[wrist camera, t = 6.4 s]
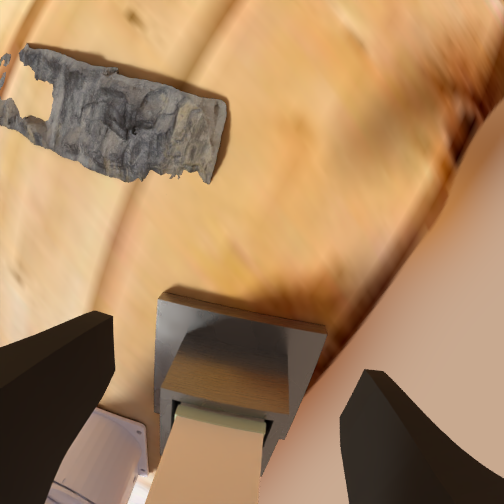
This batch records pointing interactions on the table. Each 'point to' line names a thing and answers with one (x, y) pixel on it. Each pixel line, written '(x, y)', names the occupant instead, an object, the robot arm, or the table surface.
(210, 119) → the driftwood
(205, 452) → the post
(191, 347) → the sleeve stand
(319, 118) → the table surface
